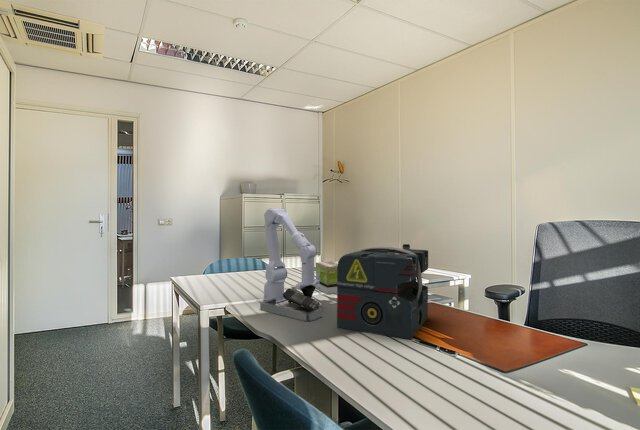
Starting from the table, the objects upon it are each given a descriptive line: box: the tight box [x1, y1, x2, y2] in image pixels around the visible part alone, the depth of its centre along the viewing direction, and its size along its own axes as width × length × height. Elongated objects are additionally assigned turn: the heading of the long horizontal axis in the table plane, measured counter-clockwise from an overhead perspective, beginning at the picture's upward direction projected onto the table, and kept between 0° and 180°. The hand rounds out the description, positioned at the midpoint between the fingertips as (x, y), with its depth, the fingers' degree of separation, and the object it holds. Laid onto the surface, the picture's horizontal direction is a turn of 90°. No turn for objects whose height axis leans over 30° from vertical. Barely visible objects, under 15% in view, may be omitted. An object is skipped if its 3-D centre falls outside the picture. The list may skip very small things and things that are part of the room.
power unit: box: [336, 243, 429, 341], centre depth 140 cm, size 28×28×30 cm
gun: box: [283, 288, 321, 311], centre depth 161 cm, size 4×20×10 cm
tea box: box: [315, 261, 338, 295], centre depth 194 cm, size 15×10×15 cm, turn 25°
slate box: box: [259, 299, 323, 322], centre depth 153 cm, size 28×9×3 cm, turn 52°
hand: (307, 302), depth 162 cm, fingers closed
